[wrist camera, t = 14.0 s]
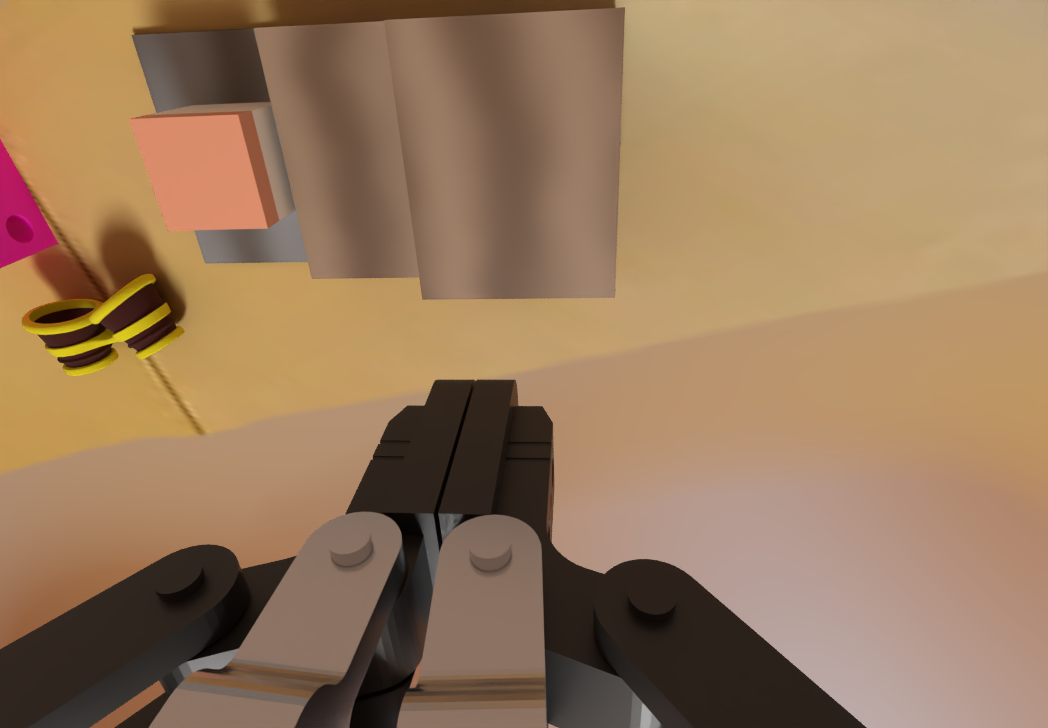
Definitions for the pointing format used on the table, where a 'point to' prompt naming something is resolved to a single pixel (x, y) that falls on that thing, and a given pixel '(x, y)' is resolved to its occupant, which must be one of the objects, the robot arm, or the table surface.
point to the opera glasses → (104, 326)
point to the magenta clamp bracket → (19, 216)
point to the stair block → (427, 146)
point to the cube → (216, 166)
